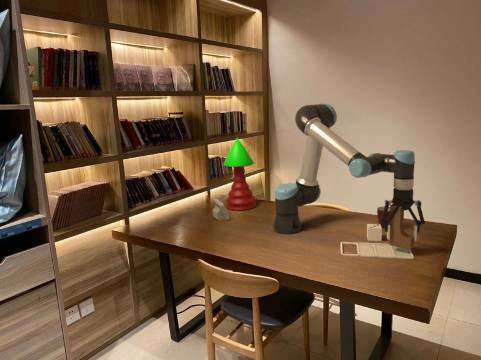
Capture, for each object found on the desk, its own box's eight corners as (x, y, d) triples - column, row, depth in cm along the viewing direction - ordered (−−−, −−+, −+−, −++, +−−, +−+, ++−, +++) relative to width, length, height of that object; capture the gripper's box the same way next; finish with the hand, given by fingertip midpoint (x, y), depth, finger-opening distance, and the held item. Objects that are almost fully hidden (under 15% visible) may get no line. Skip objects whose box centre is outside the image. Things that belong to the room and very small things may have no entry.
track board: (340, 255, 155) (340, 254, 155) (340, 243, 168) (340, 241, 168) (414, 259, 148) (414, 257, 148) (407, 245, 161) (407, 244, 161)
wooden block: (414, 246, 153) (416, 205, 150) (410, 250, 150) (412, 208, 146) (392, 242, 159) (393, 202, 155) (388, 245, 156) (389, 205, 152)
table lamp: (245, 212, 223) (241, 139, 213) (219, 209, 234) (214, 139, 224) (261, 204, 239) (258, 135, 229) (236, 201, 250) (232, 135, 240)
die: (367, 240, 169) (368, 228, 168) (366, 235, 175) (367, 223, 174) (381, 240, 168) (381, 228, 167) (380, 236, 174) (380, 224, 172)
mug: (400, 227, 183) (401, 208, 181) (396, 232, 177) (397, 212, 175) (379, 224, 190) (380, 205, 188) (374, 228, 184) (375, 209, 182)
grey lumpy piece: (230, 221, 209) (229, 203, 207) (215, 222, 207) (213, 204, 205) (226, 213, 225) (225, 196, 222) (212, 214, 223) (210, 197, 221)
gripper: (375, 190, 149) (374, 241, 153) (435, 190, 143) (432, 243, 148) (373, 185, 156) (372, 235, 161) (430, 186, 150) (428, 236, 155)
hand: (401, 239), depth 154 cm, fingers closed on wooden block, 10 cm apart
